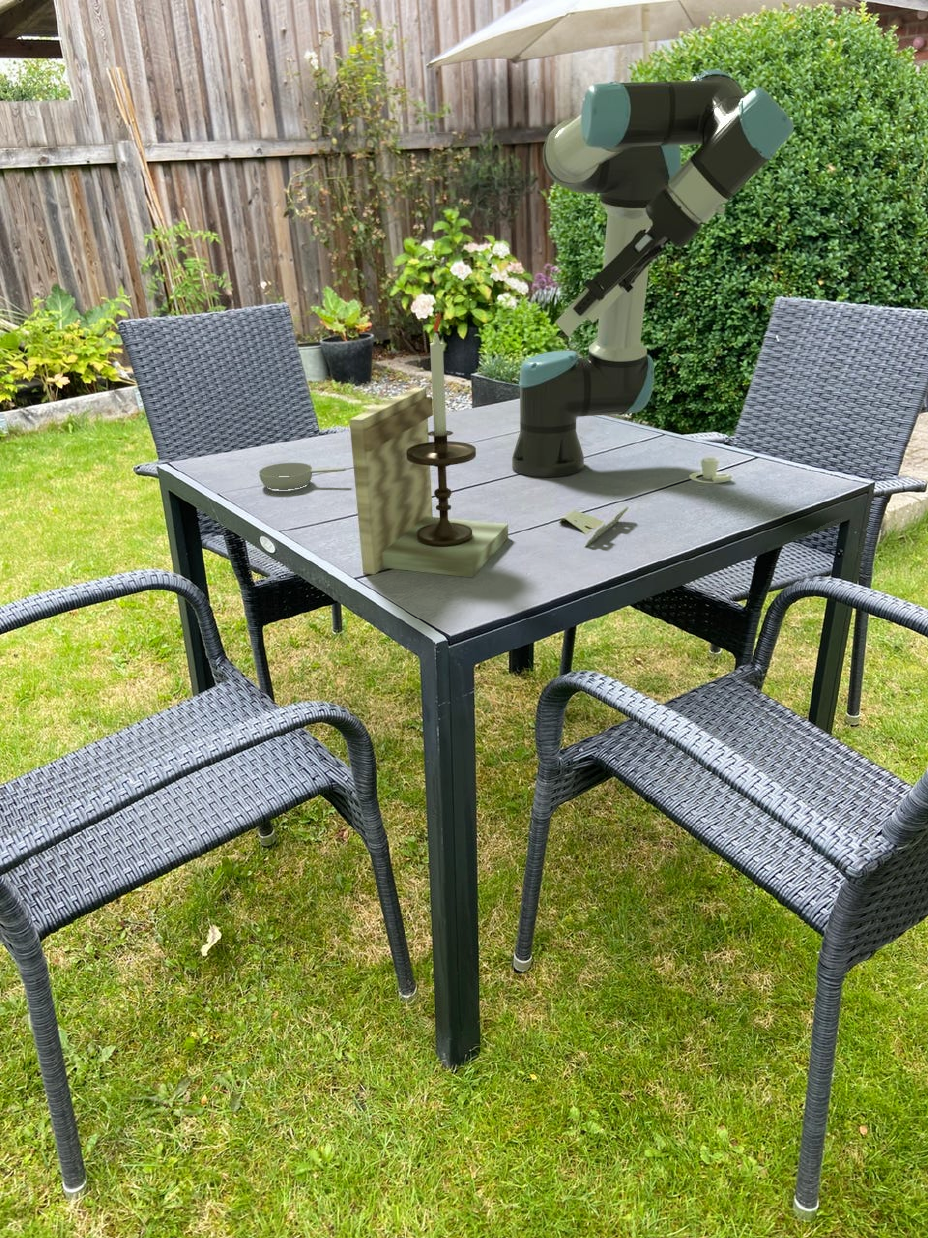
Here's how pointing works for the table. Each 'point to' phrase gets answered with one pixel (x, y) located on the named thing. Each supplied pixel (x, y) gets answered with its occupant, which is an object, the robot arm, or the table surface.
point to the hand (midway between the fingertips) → (575, 322)
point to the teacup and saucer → (710, 472)
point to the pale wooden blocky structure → (406, 495)
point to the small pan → (290, 475)
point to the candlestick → (441, 458)
